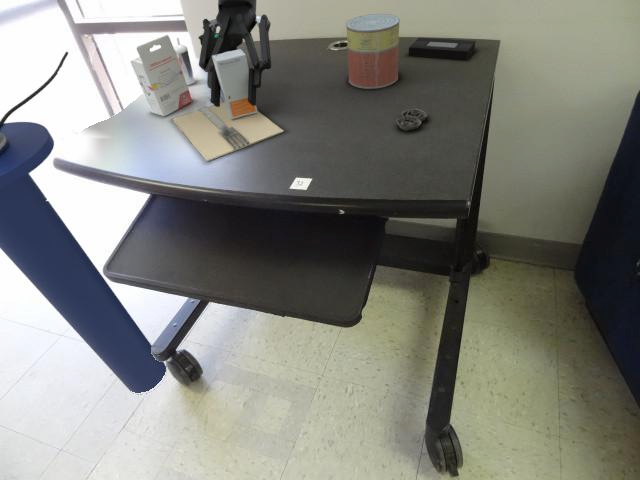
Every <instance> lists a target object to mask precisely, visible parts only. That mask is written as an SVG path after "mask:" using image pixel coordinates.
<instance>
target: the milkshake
mask: <svg viewBox="0 0 640 480" xmlns="http://www.w3.org/2000/svg"><path fill="white" fill-rule="evenodd" d="M176 42H177V44H176V45H173V48H174V50H175V52H176V54H177V57H178V60H179V63H180V66H181V69H182V72H183V74H184V77H185V80H186V83H187V86H190V85H193V84H195V82H196V80H195V76H194V72H193V68H192V64H191V59H190V55H189V50H188V49H189V48H188V47H187V46H186V45H185V44H181V43H180V39H179V37H176Z"/></svg>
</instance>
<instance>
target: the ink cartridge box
mask: <svg viewBox="0 0 640 480" xmlns="http://www.w3.org/2000/svg"><path fill="white" fill-rule="evenodd" d="M154 46H160V47H159V48H157V49H155V50H152V51H150V49H152V48H154ZM173 46H174V45H173V43H172V40H171V38H170V36H169V35H168V34H165V35H163V36H161V37H158V38H156V39H152V40H151V41H147V42H146V43H143V44H141V45H138V46H136V52H137V53H138V55H139V56H138V57H135V58H133V59H130V60H129V62H130V64H131V67H132V69H133V71H134V74H135V77H136V79H137V81H138V83H139V85H140V88H141V90H142V93H143V95H144V97H145V100H146V103H147V104H148V106H149V109H150V111H151V114H155V115H159V116H162V117H166V116H168V115H169V114H171V113H174V112H175V111H178V110H179V109H181V108H183V107H184V106H187V105H189V104H190V103H192V102H193V98H192V95H191V92H190V89H189V85H187V83H186V80H185V77H184V74H183V72H182V69H181V66H180V63H179V60H178V57H177V54H176V52H175V50H174V48H173Z"/></svg>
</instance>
